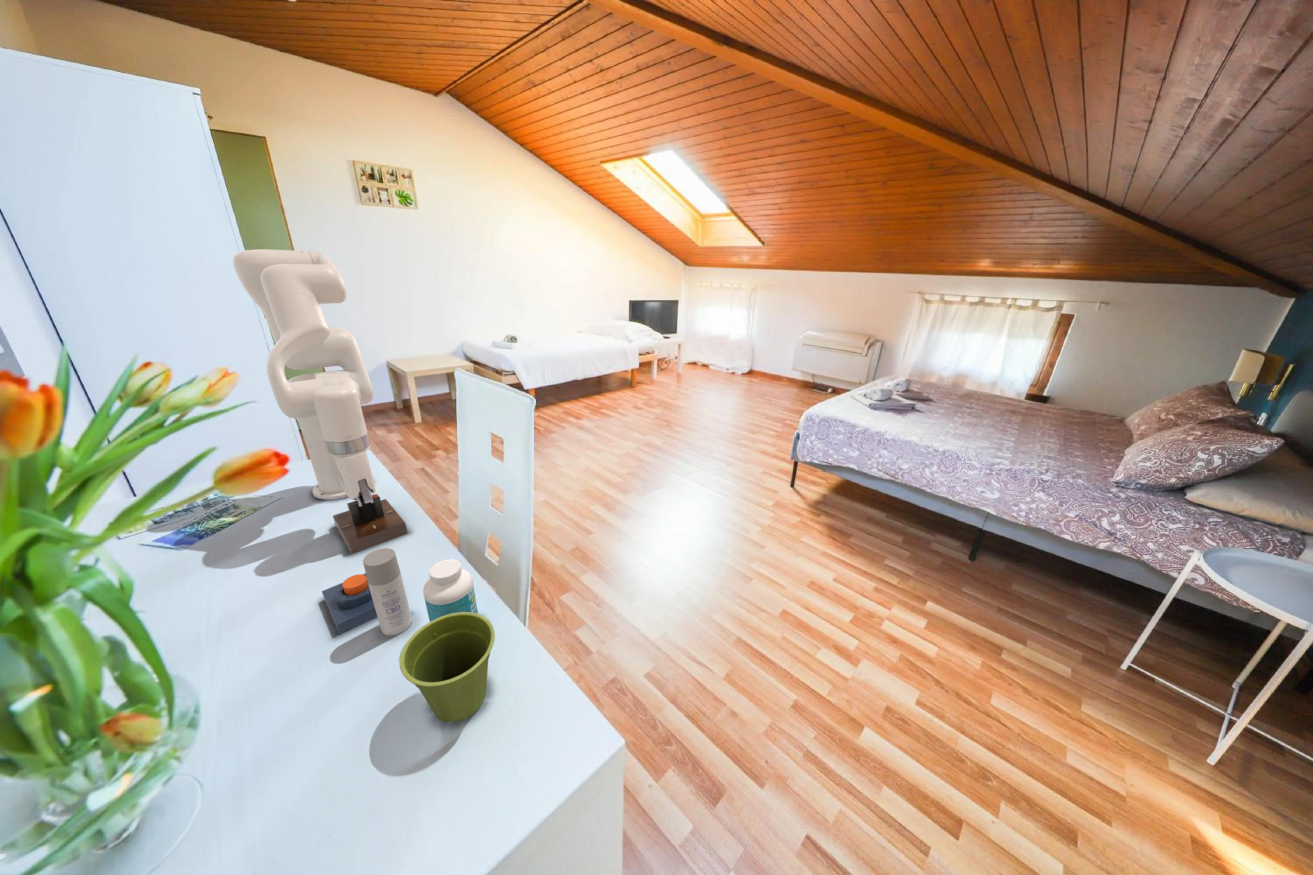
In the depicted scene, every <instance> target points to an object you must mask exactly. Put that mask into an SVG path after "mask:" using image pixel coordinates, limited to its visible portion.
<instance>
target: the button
mask: <svg viewBox="0 0 1313 875" xmlns="http://www.w3.org/2000/svg"><path fill="white" fill-rule="evenodd" d="M342 583H343V584H342V586H343V589H344V592H345V594H346V595H349V596H350V595H356V594H358V593H361V592H363V591H364V590H365V589H367V587H368V582H367V578H366V576H365V575H363V573H361V574H360V573H359V574H355V575H354V574H353V575H351V576H349V577H347V578H346V579H345V580H344V581H343V582H342Z"/></svg>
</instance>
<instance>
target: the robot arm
mask: <svg viewBox="0 0 1313 875" xmlns="http://www.w3.org/2000/svg"><path fill="white" fill-rule="evenodd" d="M232 265H233V268H234V272H235V274H236V276H237V279H238V280H239V282H240V284H241V285H242V287H243V289H244V290H245V291H246V293H247V294H248V296H249V297H250V299H252V300H253V302H254V303H255V304H256V305H257V306H258V308H259V309H260V311H261V312H262V314H263V315H264V317H265V319H266V322H267V325H268V327H269V330H270V333H271V336H272V339H273V342H274V345H273V347H272V348H271V350H270V352H269V354H268V358H267V361H266V375H267V378H268V382H269V384H270V387H271V390H272V392H273V395H274V398H275V400H276V403H277V405H278V408H279V409H280V411H281V412H282V413H283V415H285V416H286V417H288V418H290V419H291V418H292V419H296V420H297V422H298V425H299V428H300V430H301V433H302V437H303V440H304V444H305V446H306V449H307V453H308V455H309V459H310V462H311V465H312V470H313V472H314V476H315V478H316V481H317V482H316V483H317V484H316V485H314V487H313V488H312V494H313V496H314V497H315V498H316V499H319V500H329V501H330V500H339V499H345V498H347V497H348V499H349V500H354V501H357V503H358V506H357V509H358V512H359V516H360V520H361V521H362V522H364V521H367V520H370V519H373V518H376V517H377V512H376V508H375V504H374V501H373V498H372V495H373V494H375V493H376V491H377V490H376V485H375V479H374V476H373V472H372V468H371V464H370V460H369V458H368V454H367V452H368V450H370V449H371V446H372V445H371V441H370V438H369V432H368V429H367V425H366V421H365V416H364V412H363V409H362V405H367V404H369V403H371V402H372V401H373V399H374V389H373V388H374V387H373V385H372V382H371V379H370V378H371V377H370V376H369V372H368V370H367V367H366V363H365V361H364V358H363V355H362V353H361V349H360V347H359V344H358V342H357V340H356V337H355V336H354V335H353V333H352V332H351V331H349V330H348V329H346V328H343V327H329V325H328V323H327V319H326V317H325V316H324V313H323V310H322V307H321V305H329V304H330V305H331V304H342V303H344V302H345V301H346V299H347V294H348V292H347V287H346V283H345V280H344V278H343V276H342V274H341V273H340V271H339V270H338V268H337V267H336V266H335V265H334V263H333V262H332V261H331V260H330V259H329V258H328V257H327V256H326V255H325V254H323V253H322V252H319V251H315V250H314V251H313V250H294V249H293V250H291V249H270V248H269V249H268V248H267V249H266V248H264V249H263V248H261V249H246V250H241V251H239V252H237V253H235V254H234V255H233V258H232ZM286 367H287V368H288V369H291V370H297V371H300V370H303V371H304V370H314V369H322V368H330V367H340V368H342V369H338V370H337V369H336V370H330V371H319V372H311V373H306V374H305V373H304V374H300V375H296V376H293V377H291V378H290V379H287V376H286V372H285V371H286V370H285V369H286ZM360 499H361V500H360Z"/></svg>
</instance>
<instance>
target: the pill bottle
mask: <svg viewBox="0 0 1313 875" xmlns="http://www.w3.org/2000/svg"><path fill="white" fill-rule="evenodd" d="M428 575H429V578H428V579H427V580H426V581H425V583H424V585H423V590H422V594H423V598H424V599H423V600H424V603H425V607H426V612H427V617H428V620H429V622H431V621H433V620H435V619H437V618H439V617H442V616H445V615H448V614H452V613H458V612H471V613H477V614H479V611H478V604H477V598H476V594H475V592H476V591H475V586H474V581H473V580H474V579H473V576H472V574H471V573H470V572H469V571H467V570H466V569H464V568H463V567H462V565H461V562H460V561H459V560H457V559H455V558H454V559H453V558H449V559H448V558H447V559H444V560H439V561H438V562H436V563H435V564H433V565H432V566H431V567H430V569H429V572H428Z"/></svg>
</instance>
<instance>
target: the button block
mask: <svg viewBox="0 0 1313 875" xmlns="http://www.w3.org/2000/svg"><path fill="white" fill-rule="evenodd" d="M362 575H365V576H366V572H364V573H362ZM366 578H367V576H366ZM367 582H368V581H367ZM342 584H343V582H341V583H338V584H336V585H333V586H331V587H329V588H326V589H323V590H322V591H321V593H322V596H323V598H324V602H325V604H326V606H327V609H328V611H329V614H330V616H331V618H332V620H333V623H334V625H335V628H336V630H337V632H338V634H339V635H342V634H344V633H347V632H349V631H351V630H353V629H355V628H357V627H359V626H361V625H363V624H366V623H367V622H370V621H372V620H375V619H376V618H378V617H377V613H376V610H375V606H374V603H373V599H372V596H371V592H370V589H369V585H368V587H367V589H365V590H364V591H363V592H361V593H358V594H356V595H350V596H349V595H346V594H345V592H344V589H343V586H342Z"/></svg>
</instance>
